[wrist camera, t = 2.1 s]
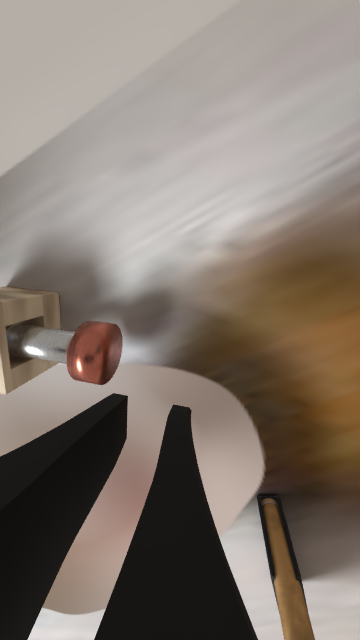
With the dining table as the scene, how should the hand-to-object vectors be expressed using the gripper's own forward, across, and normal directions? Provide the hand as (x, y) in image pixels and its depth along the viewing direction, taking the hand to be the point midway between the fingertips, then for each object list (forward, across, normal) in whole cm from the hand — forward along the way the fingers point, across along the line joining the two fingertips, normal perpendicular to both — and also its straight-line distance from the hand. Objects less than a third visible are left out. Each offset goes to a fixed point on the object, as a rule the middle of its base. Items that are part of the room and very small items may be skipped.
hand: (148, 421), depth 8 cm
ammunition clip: (+9, -10, +18) cm, 22 cm away
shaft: (+7, +9, 0) cm, 11 cm away
